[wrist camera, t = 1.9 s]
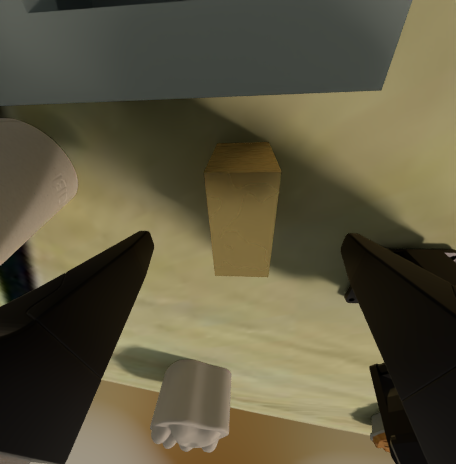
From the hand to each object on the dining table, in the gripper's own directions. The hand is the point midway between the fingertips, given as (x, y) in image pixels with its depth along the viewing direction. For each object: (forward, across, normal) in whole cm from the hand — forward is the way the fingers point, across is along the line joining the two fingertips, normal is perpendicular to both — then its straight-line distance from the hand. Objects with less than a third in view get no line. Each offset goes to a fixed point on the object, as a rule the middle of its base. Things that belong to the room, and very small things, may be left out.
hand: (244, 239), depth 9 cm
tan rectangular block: (+5, 0, 0) cm, 5 cm away
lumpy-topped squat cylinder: (+6, +8, +35) cm, 36 cm away
